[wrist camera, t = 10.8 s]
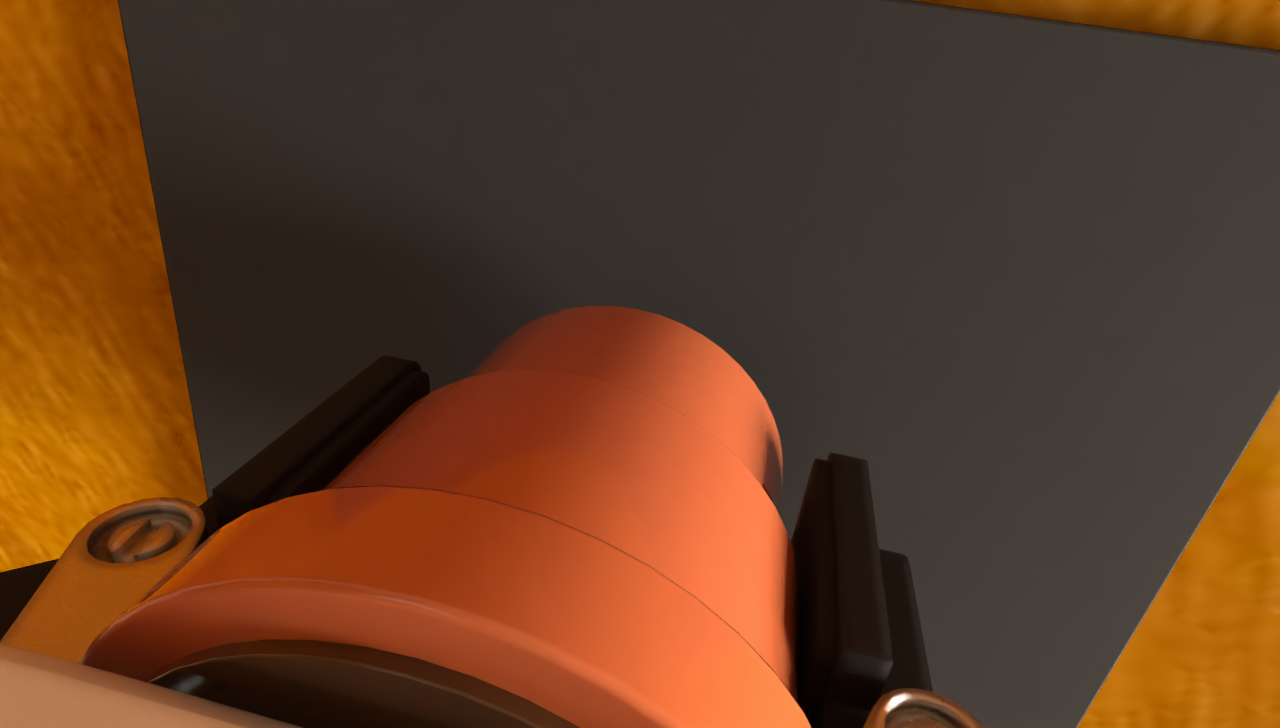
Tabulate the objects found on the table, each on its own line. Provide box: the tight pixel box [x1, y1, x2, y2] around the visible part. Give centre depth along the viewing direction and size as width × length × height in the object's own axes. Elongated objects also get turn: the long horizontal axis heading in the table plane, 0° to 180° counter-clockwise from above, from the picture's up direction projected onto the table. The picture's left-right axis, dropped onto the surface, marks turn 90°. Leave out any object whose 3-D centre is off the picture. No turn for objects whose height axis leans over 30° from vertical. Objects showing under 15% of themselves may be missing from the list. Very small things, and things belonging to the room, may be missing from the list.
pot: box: [78, 306, 812, 728], centre depth 9 cm, size 7×7×7 cm
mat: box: [118, 0, 1280, 728], centre depth 14 cm, size 20×15×1 cm
